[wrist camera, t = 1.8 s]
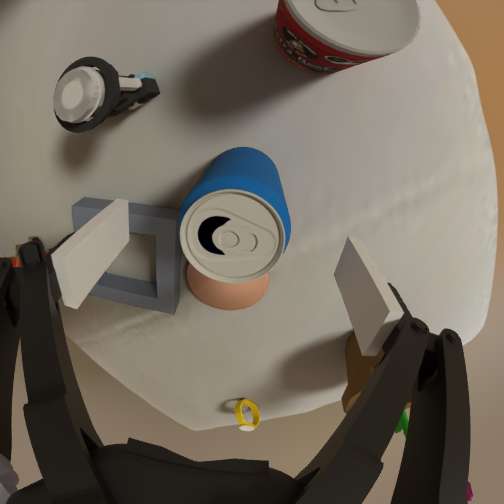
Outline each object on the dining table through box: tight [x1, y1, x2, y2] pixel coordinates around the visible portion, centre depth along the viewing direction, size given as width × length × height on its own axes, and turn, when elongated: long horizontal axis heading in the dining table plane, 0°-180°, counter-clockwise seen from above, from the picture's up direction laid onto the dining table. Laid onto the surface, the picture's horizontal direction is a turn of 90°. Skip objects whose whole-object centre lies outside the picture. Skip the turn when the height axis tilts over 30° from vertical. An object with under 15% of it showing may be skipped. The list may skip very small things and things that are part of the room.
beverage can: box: [178, 147, 291, 284], centre depth 19 cm, size 6×6×12 cm
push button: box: [53, 57, 160, 133], centre depth 16 cm, size 7×5×10 cm
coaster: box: [187, 263, 269, 310], centre depth 30 cm, size 9×9×1 cm
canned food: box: [274, 0, 421, 73], centre depth 12 cm, size 8×8×11 cm
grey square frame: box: [72, 197, 181, 314], centre depth 28 cm, size 12×12×2 cm
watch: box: [235, 399, 260, 431], centre depth 43 cm, size 6×3×6 cm, turn 36°
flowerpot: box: [341, 332, 473, 501], centre depth 23 cm, size 14×14×30 cm
